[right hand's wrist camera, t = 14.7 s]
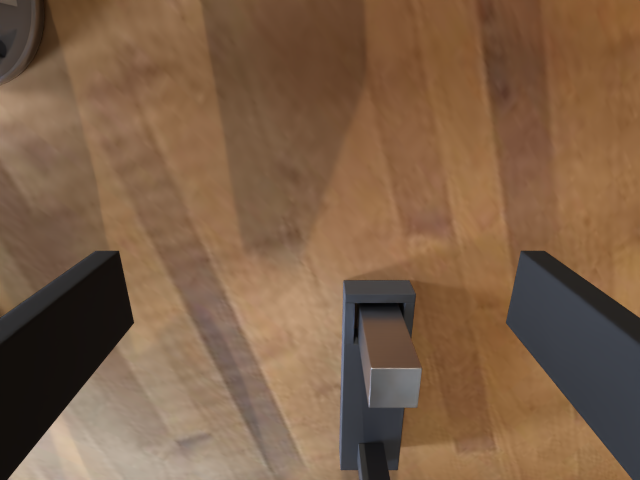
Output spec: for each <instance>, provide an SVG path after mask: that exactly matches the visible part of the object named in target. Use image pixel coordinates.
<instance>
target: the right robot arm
mask: <svg viewBox="0 0 640 480" xmlns="http://www.w3.org/2000/svg"><path fill="white" fill-rule="evenodd" d="M43 27H44V2H43V0H0V85H2V84H4V83H7V82H9V81H11V80H12V79H14V78H16V77H17V76H18V75H19V74H21V73H22V72H23V71H24V70H25V69H26V68H27V66H28V65H29V64H30V62H31V61H32V59H33V58H34V56H35V54H36V52H37V50H38V47H39V45H40V41H41V38H42V33H43ZM133 324H134V320H133V315H132V311H131V306H130V301H129V296H128V292H127V287H126V282H125V277H124V273H123V268H122V263H121V258H120V253H119V251H95V252H93V253H92V254H90V255H89V256H88V257H86V258H85V259H83V260H82V261H80V262H79V263H78V264H76V265H75V266H73V267H72V268H70V269H69V270H68V271H66V272H65V273H63V274H62V275H61V276H59V277H58V278H56V279H55V280H53V281H52V282H51V283H49V284H48V285H46V286H45V287H43V288H42V289H41V290H39V291H38V292H36V293H35V294H34V295H32V296H31V297H29V298H28V299H26V300H25V301H24V302H22V303H21V304H19V305H18V306H17V307H15V308H14V309H12V310H11V311H9V312H8V313H7V314H5V315H4V316H2V317H1V318H0V480H7V479H8V478H9V477H10V476H11V474H12V473H13V472H14V471H15V470H16V468H17V467H18V466H19V465H20V463H21V462H22V461H23V460H24V458H25V457H26V456H27V455H28V453H29V452H30V451H31V450H32V448H33V447H34V446H35V445H36V444H37V442H38V441H39V440H40V439H41V437H42V436H43V435H44V434H45V432H46V431H47V430H48V429H49V427H50V426H51V425H52V424H53V423H54V421H55V420H56V419H57V418H58V416H59V415H60V414H61V413H62V411H63V410H64V409H65V408H66V406H67V405H68V404H69V403H70V401H71V400H72V399H73V398H74V397H75V395H76V394H77V393H78V392H79V390H80V389H81V388H82V387H83V385H84V384H85V383H86V382H87V380H88V379H89V378H90V377H91V375H92V374H93V373H94V372H95V371H96V369H97V368H98V367H99V366H100V364H101V363H102V362H103V361H104V359H105V358H106V357H107V356H108V354H109V353H110V352H111V351H112V350H113V348H114V347H115V346H116V345H117V343H118V342H119V341H120V340H121V338H122V337H123V336H124V335H125V333H126V332H127V331H128V330H129V328H130V327H131V326H132V325H133ZM506 324H507V325H508V326H509V327H510V328H511V330H512V331H513V332H514V333H515V335H516V336H517V337H518V338H519V340H520V341H521V342H522V343H523V345H524V346H525V347H526V348H527V350H528V351H529V352H530V353H531V354H532V356H533V357H534V358H535V359H536V361H537V362H538V363H539V364H540V366H541V367H542V368H543V369H544V371H545V372H546V373H547V374H548V375H549V377H550V378H551V379H552V380H553V382H554V383H555V384H556V385H557V387H558V388H559V389H560V390H561V392H562V393H563V394H564V395H565V397H566V398H567V399H568V400H569V401H570V403H571V404H572V405H573V406H574V408H575V409H576V410H577V411H578V413H579V414H580V415H581V416H582V418H583V419H584V420H585V421H586V423H587V424H588V425H589V426H590V427H591V429H592V430H593V431H594V432H595V434H596V435H597V436H598V437H599V439H600V440H601V441H602V442H603V444H604V445H605V446H606V447H607V448H608V450H609V451H610V452H611V453H612V455H613V456H614V457H615V458H616V460H617V461H618V462H619V463H620V465H621V466H622V467H623V468H624V470H625V471H626V472H627V473H628V474H629V476H630V477H631V478H632V479H633V480H640V318H639V317H638V316H636V315H635V314H633V313H632V312H631V311H629V310H628V309H626V308H625V307H623V306H622V305H621V304H619V303H618V302H616V301H615V300H614V299H612V298H611V297H609V296H608V295H606V294H605V293H604V292H602V291H601V290H599V289H598V288H597V287H595V286H594V285H592V284H591V283H589V282H588V281H587V280H585V279H584V278H582V277H581V276H579V275H578V274H577V273H575V272H574V271H572V270H571V269H570V268H568V267H567V266H565V265H564V264H562V263H561V262H560V261H558V260H557V259H555V258H554V257H552V256H551V255H550V254H548V253H547V252H545V251H521V253H520V258H519V263H518V268H517V272H516V277H515V282H514V287H513V292H512V296H511V301H510V306H509V311H508V315H507V320H506Z"/></svg>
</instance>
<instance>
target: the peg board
mask: <svg viewBox="0 0 640 480" xmlns="http://www.w3.org/2000/svg"><path fill="white" fill-rule="evenodd" d="M415 298H416V294H415V291H414V289H413V287H412V285H411V283H410V281H409V280H344V282H343V323H342V364H341V406H340V447H339V450H340V468H341V470H358V472H359V480H390V476H389V471H388V470H398V462H399V453H400V443H401V433H402V424H403V414H404V408H369V406H368V399H367V393H366V387H365V380H364V374H363V367H362V361H361V355H360V348H359V342H358V335H357V329H356V328H354V316H355V303H398V305H399V308H400V311H401V313H402V316H403V319H404V321H405V324H406V327H407V329H408V332H409V335H410V337H411V336H412V326H413V316H414V307H415Z"/></svg>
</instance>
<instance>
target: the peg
mask: <svg viewBox="0 0 640 480" xmlns="http://www.w3.org/2000/svg"><path fill="white" fill-rule="evenodd" d="M356 329H357V335H358V342H359V348H360V355H361V361H362V367H363V374H364V380H365V387H366V393H367V399H368V406H369V408H417V406H418V398H419V390H420V381H421V373H422V367H421V364H420V362H419V359H418V356H417V354H416V351H415V348H414V346H413V343H412V340H411V337H410V335H409V332H408V329H407V327H406V324H405V321H404V319H403V316H402V313H401V311H400V308H399V305H398V303H357V306H356Z"/></svg>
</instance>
